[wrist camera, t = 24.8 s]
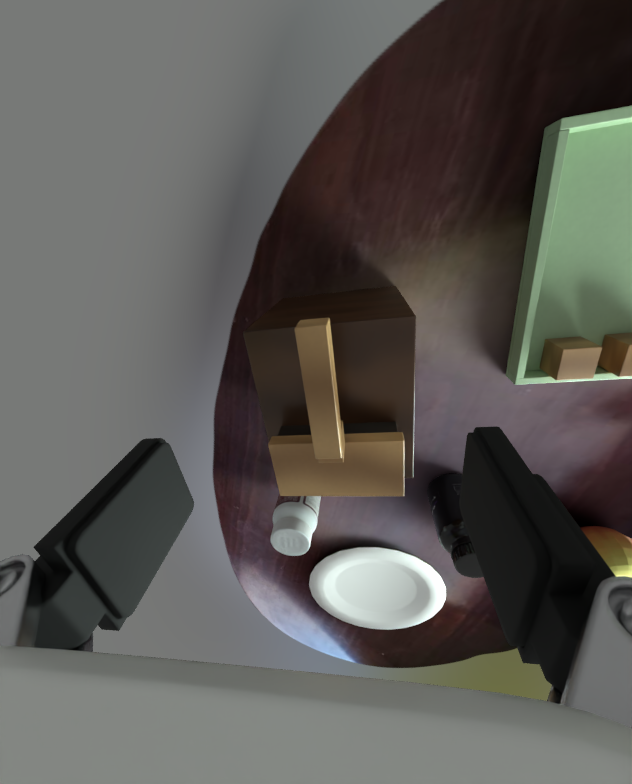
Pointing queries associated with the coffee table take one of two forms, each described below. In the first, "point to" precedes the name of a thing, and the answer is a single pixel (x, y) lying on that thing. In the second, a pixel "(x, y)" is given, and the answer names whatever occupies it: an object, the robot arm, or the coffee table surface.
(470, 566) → the supplement bottle
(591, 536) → the apple
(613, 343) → the brown cube
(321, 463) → the brush
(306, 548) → the pill bottle
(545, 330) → the tray
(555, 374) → the cork block
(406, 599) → the plate
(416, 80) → the coffee table surface
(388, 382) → the stand
